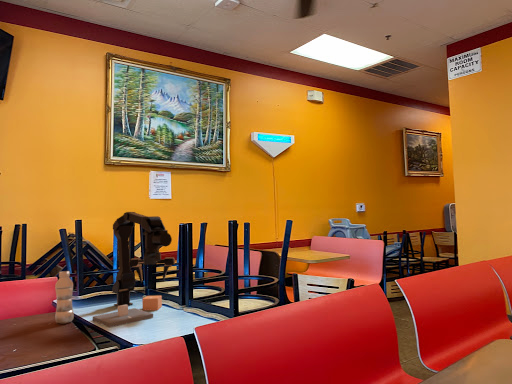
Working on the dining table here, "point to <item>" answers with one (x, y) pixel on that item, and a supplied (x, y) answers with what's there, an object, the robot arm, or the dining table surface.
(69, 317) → the plastic bottle
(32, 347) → the dining table surface
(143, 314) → the panel
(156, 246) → the robot arm
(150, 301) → the orange block
